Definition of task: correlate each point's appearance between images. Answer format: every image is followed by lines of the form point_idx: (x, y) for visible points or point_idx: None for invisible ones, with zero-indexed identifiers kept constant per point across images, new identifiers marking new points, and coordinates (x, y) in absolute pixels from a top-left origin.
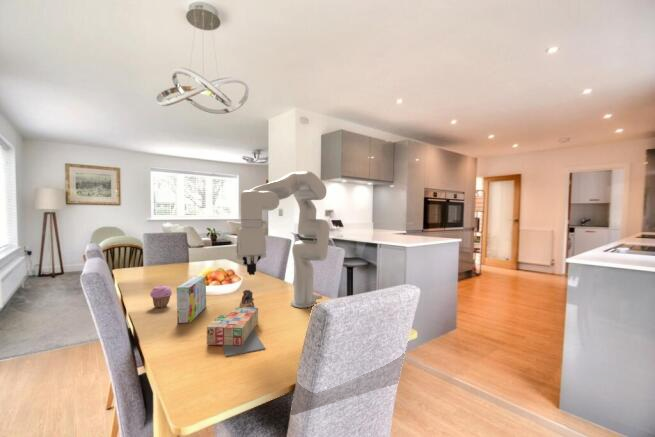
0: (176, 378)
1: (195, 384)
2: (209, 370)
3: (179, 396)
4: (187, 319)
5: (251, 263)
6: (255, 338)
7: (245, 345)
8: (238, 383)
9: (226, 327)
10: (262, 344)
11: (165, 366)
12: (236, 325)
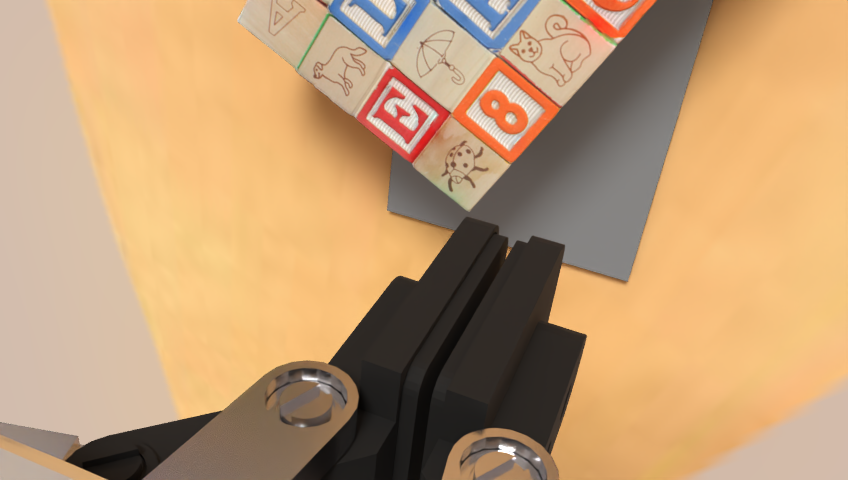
0: (176, 243)
1: (242, 332)
2: (298, 275)
3: (194, 359)
4: None
5: (428, 437)
6: (649, 103)
7: (533, 165)
8: None
9: (368, 127)
10: (639, 228)
11: (122, 105)
12: (446, 142)
